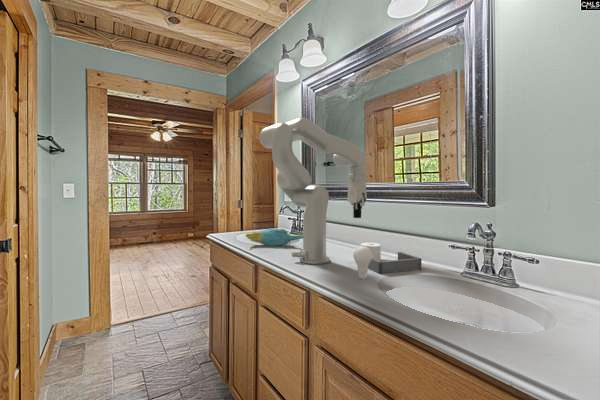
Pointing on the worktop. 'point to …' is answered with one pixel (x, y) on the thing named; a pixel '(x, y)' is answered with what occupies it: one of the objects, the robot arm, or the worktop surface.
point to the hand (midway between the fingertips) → (357, 217)
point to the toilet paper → (374, 250)
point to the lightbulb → (362, 260)
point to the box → (396, 264)
